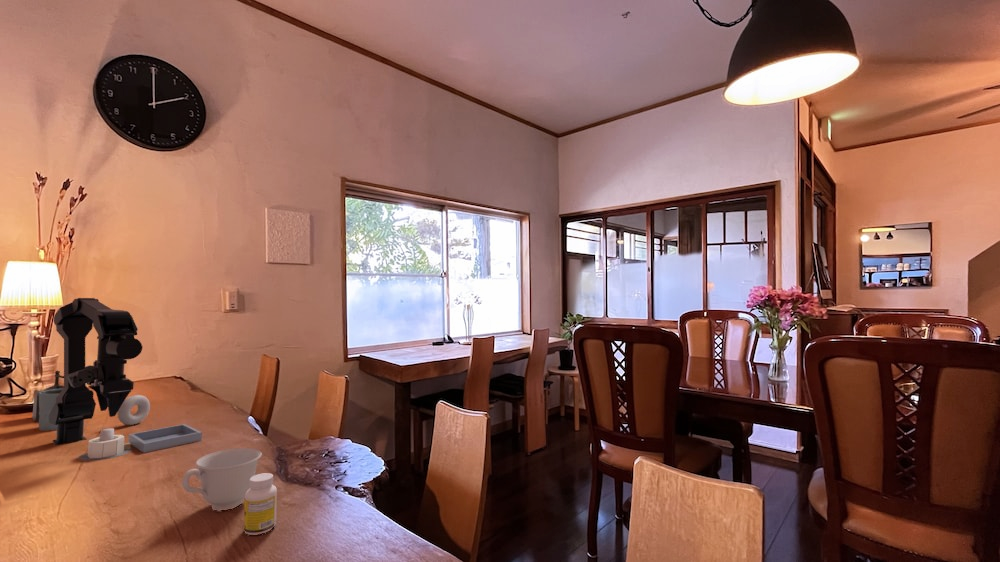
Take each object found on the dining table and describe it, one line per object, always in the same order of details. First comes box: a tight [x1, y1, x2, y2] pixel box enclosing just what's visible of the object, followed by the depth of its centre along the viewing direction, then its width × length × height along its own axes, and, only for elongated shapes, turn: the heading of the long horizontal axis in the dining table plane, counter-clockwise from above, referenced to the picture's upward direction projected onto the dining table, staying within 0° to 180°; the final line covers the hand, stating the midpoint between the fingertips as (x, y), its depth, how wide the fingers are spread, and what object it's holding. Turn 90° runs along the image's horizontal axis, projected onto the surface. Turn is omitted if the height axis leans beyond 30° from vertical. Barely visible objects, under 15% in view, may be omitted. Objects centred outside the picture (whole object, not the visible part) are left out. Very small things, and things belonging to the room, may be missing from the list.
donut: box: [117, 394, 151, 426], centre depth 149 cm, size 10×3×10 cm, turn 168°
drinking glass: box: [38, 388, 63, 432], centre depth 145 cm, size 10×10×12 cm
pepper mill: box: [31, 364, 93, 423], centre depth 159 cm, size 16×11×18 cm
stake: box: [77, 427, 133, 462], centre depth 120 cm, size 11×11×7 cm
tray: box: [128, 423, 203, 454], centre depth 131 cm, size 14×14×3 cm
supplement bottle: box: [243, 472, 278, 534], centre depth 83 cm, size 5×5×10 cm
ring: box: [87, 434, 132, 458], centre depth 120 cm, size 7×9×4 cm
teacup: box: [181, 447, 263, 510], centre depth 91 cm, size 12×15×10 cm
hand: (107, 413), depth 120 cm, fingers open, 9 cm apart
